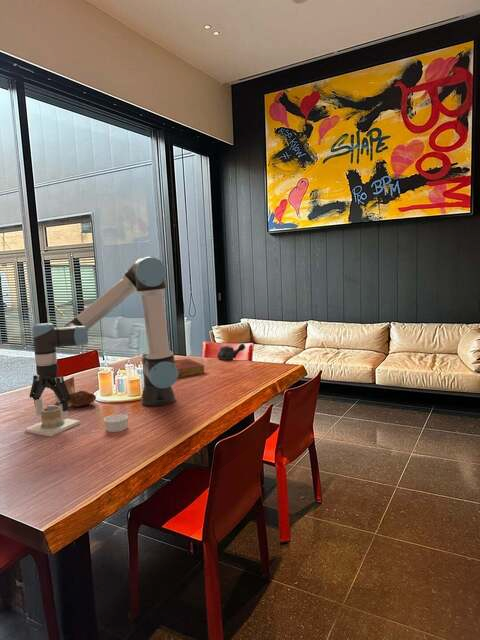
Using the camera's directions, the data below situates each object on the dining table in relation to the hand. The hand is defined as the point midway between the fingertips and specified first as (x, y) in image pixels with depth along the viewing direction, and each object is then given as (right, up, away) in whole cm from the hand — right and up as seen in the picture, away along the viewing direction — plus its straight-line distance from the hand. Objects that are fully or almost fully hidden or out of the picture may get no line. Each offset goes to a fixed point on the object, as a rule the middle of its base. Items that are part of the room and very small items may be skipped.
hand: (52, 417), depth 167 cm
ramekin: (+26, -4, -3) cm, 27 cm away
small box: (-9, 0, +36) cm, 37 cm away
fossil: (+2, -1, +26) cm, 26 cm away
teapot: (+68, +12, +111) cm, 130 cm away
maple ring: (0, -3, 0) cm, 3 cm away
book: (+35, +7, +80) cm, 87 cm away
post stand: (0, -4, 0) cm, 4 cm away
